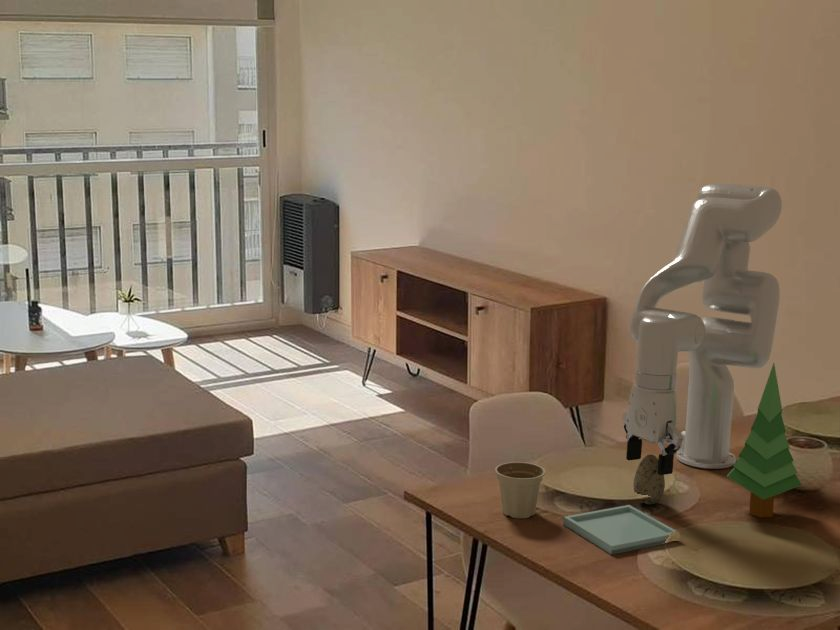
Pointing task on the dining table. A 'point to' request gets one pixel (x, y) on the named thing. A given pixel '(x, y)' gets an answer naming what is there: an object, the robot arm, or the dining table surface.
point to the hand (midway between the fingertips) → (648, 466)
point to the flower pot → (519, 488)
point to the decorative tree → (766, 455)
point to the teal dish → (619, 529)
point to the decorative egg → (649, 480)
